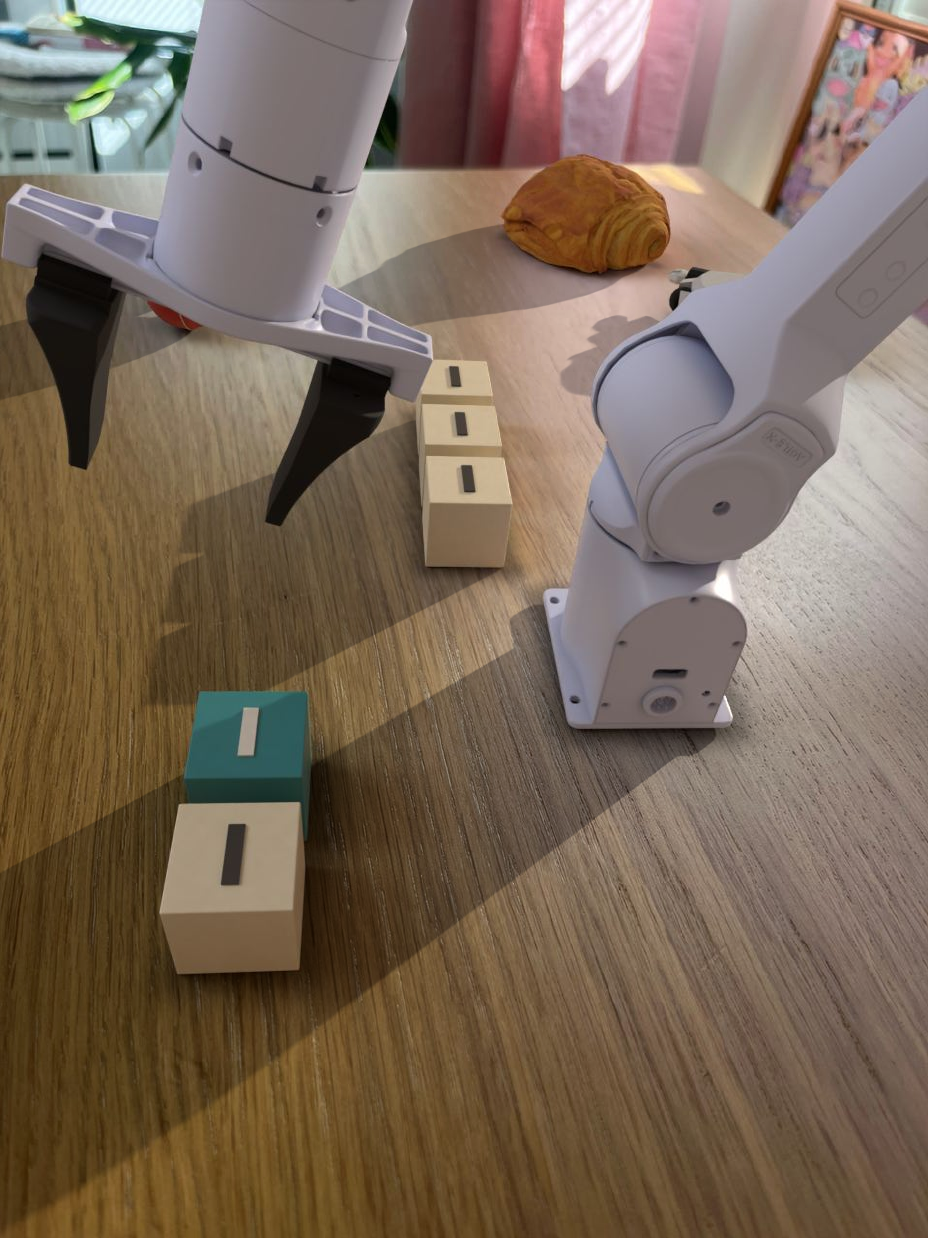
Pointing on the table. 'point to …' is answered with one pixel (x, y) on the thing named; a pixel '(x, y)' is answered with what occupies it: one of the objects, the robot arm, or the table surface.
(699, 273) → the robot toy
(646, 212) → the croissant
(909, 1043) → the table surface
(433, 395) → the cream cube block
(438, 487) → the beige cube
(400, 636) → the table surface
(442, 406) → the tan wooden cube
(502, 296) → the table surface
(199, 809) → the beige slotted box
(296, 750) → the teal cube
